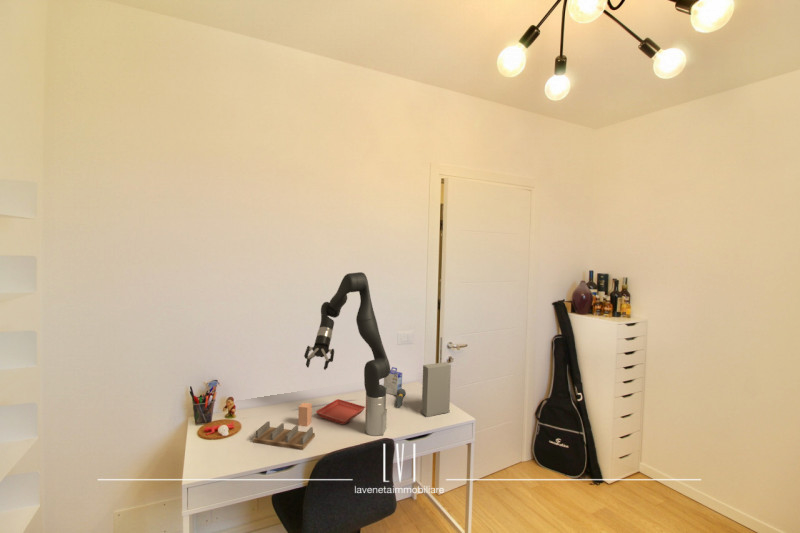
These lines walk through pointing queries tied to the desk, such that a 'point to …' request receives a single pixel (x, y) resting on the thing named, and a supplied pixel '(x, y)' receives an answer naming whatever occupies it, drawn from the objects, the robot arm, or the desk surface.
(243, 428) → the desk surface
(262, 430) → the walnut rack
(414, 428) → the desk surface
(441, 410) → the tall grey upright block
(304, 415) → the terracotta block
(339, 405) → the plant saucer
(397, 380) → the ink cartridge box
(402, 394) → the flashlight
